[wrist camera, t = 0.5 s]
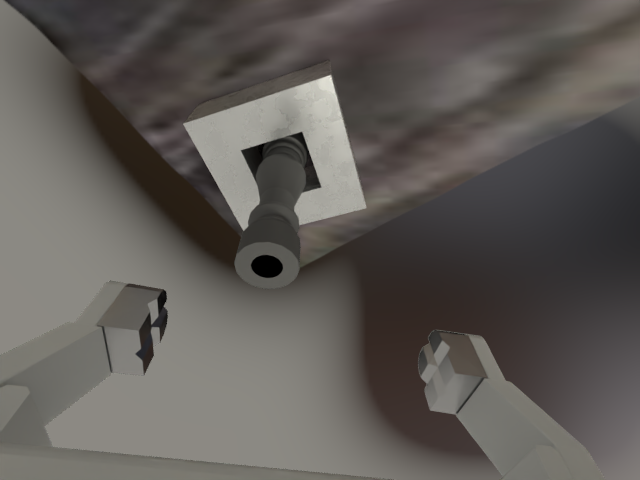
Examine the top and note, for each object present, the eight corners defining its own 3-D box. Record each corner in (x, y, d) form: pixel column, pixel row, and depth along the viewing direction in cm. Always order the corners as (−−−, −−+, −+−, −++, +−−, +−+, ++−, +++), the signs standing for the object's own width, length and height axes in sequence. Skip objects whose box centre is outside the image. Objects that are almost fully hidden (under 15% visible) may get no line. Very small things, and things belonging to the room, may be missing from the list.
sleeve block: (198, 104, 46) (182, 123, 40) (329, 60, 43) (330, 74, 37) (254, 211, 57) (247, 238, 51) (361, 182, 54) (366, 208, 48)
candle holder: (276, 116, 47) (248, 228, 28) (315, 139, 49) (315, 257, 30) (257, 153, 50) (220, 275, 31) (294, 172, 52) (282, 299, 33)
